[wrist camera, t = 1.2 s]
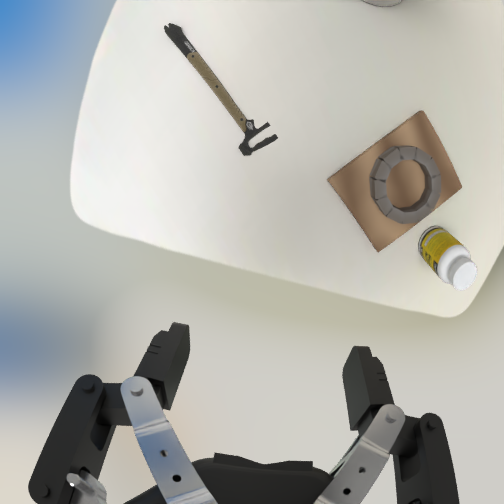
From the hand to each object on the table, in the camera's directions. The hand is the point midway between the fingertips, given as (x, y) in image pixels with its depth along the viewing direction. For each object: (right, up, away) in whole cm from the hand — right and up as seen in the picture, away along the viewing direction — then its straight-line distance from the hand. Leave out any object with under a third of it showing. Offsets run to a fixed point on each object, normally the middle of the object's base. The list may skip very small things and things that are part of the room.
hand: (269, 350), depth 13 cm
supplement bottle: (+25, +6, +22) cm, 34 cm away
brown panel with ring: (+18, +14, +19) cm, 30 cm away
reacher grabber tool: (-4, +26, +16) cm, 31 cm away
